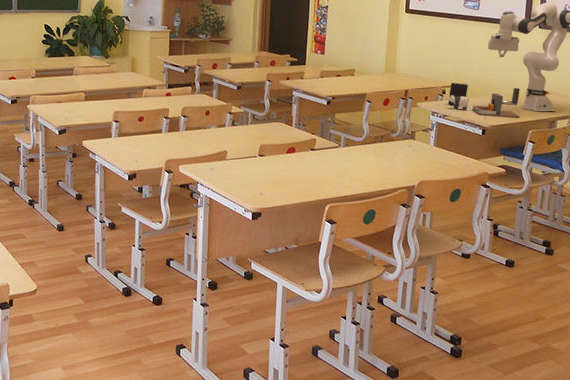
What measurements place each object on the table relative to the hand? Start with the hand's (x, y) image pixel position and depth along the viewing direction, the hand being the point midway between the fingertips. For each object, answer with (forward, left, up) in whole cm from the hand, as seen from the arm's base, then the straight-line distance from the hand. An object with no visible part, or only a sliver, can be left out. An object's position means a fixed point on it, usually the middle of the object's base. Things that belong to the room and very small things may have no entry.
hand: (501, 57), depth 552 cm
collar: (+8, +19, -34) cm, 40 cm away
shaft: (-2, +19, -29) cm, 34 cm away
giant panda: (+28, +11, -36) cm, 47 cm away
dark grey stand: (+5, +19, -36) cm, 41 cm away
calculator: (+25, -3, -36) cm, 44 cm away
